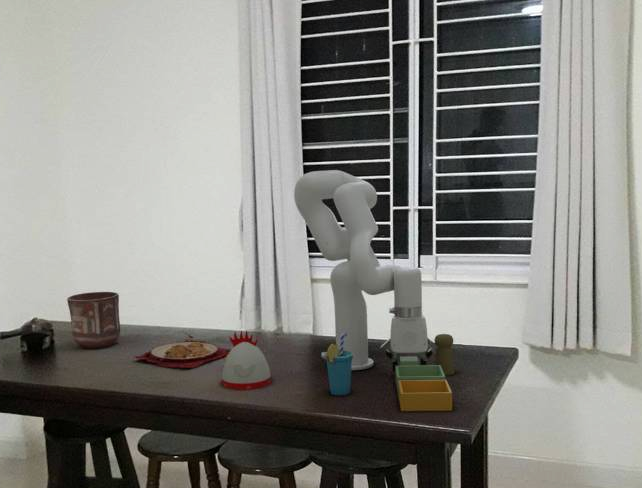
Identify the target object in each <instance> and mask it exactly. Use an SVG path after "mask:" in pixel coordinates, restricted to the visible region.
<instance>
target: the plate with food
mask: <svg viewBox="0 0 642 488" xmlns="http://www.w3.org/2000/svg"><path fill="white" fill-rule="evenodd" d="M187 336H188V338H186V339H184V341H177V342H171V343H165V344H161V345H157V346H155V347H152V348H151V349H150V350H149V351H147V352H145V353H144V354H141V355H133V358H134V359H135V358H136V359H140V360H142V361H146V362H150V363H154V364H155V365H157V366H160V367H164V368H174V369H176V368H178V369H186V368H187V369H194V368H196V367H200V366H202V365H203V364H204V363H208V362H210V361H213V360H216V359H221V358H223V357H226V356H227V355H228V354H229V352H230V351H231V349H232V348H229V349H228V348H227V349H226V348H221V347H218V346H217V345H215V344H213V343H208V341H206V340H205V339H203V341H202V340H193V339H194V336H192V335H190V334H187ZM156 363H157V364H156Z"/></svg>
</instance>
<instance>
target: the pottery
mask: <svg viewBox="0 0 642 488" xmlns="http://www.w3.org/2000/svg"><path fill="white" fill-rule="evenodd" d="M66 300H67V301H66V302H67V305H68V310H69V315H70V323H71V335H72V336H71V337H72V338H73V340H74V342H75V343H76V345H78V346H80V347H81V348H82V349H91V350H92V349H103V348H108V347H111V346H114V345H115V343H116V342H117V341H118V339H119V337H120V335H121V322H120V321H121V319H120V295H119V293H118V292H115V291H92V292H83V293H78V294H73V295H71V296H69V297H67V299H66ZM114 342H115V343H114Z"/></svg>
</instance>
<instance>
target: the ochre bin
mask: <svg viewBox="0 0 642 488" xmlns="http://www.w3.org/2000/svg"><path fill="white" fill-rule="evenodd" d="M397 394H398V402H399V406H400V407H399V408H400V411H401V412H446V411H447V412H452V411H453V391H452V389H451V387H450V384H449V383H448V380H447V379H445V380H398V391H397Z"/></svg>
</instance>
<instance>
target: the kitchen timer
mask: <svg viewBox="0 0 642 488" xmlns="http://www.w3.org/2000/svg"><path fill="white" fill-rule="evenodd" d="M243 335H244V336H243ZM228 337H229V341H230V343H231V344H232V346H233V347H232V348H230V349H231V351H230V352H229V351H228V352H229V354H228V355H227V356H226V355H225V356H224V365H223V369H222V373H221V381H222V383H221V384H222V386H223V387H224V388H227V389H231V390H253V389H258V388H259V389H260V388H263V387H266V386H268V385H269V384H270V383H271V382H272V381H271V380H272V379H271V377H272V376H271V371H270V367H269V364H268V362H267V361H268V360H267V359H266V357H265V354H264V353H263V352H262V351H261V349H260V348H259V347H258V346H256V345H257V344H258V341H259V337H256V340H255V341H253V337H254V334H253V333H252V334H251V335H250V337H249V334H248V330H245V334H243V331H242V330H241V331H240V333H239V337H238V335H237V333H236V331H234V332H233V338H232V337H231V336H230V335H229V336H228Z"/></svg>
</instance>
